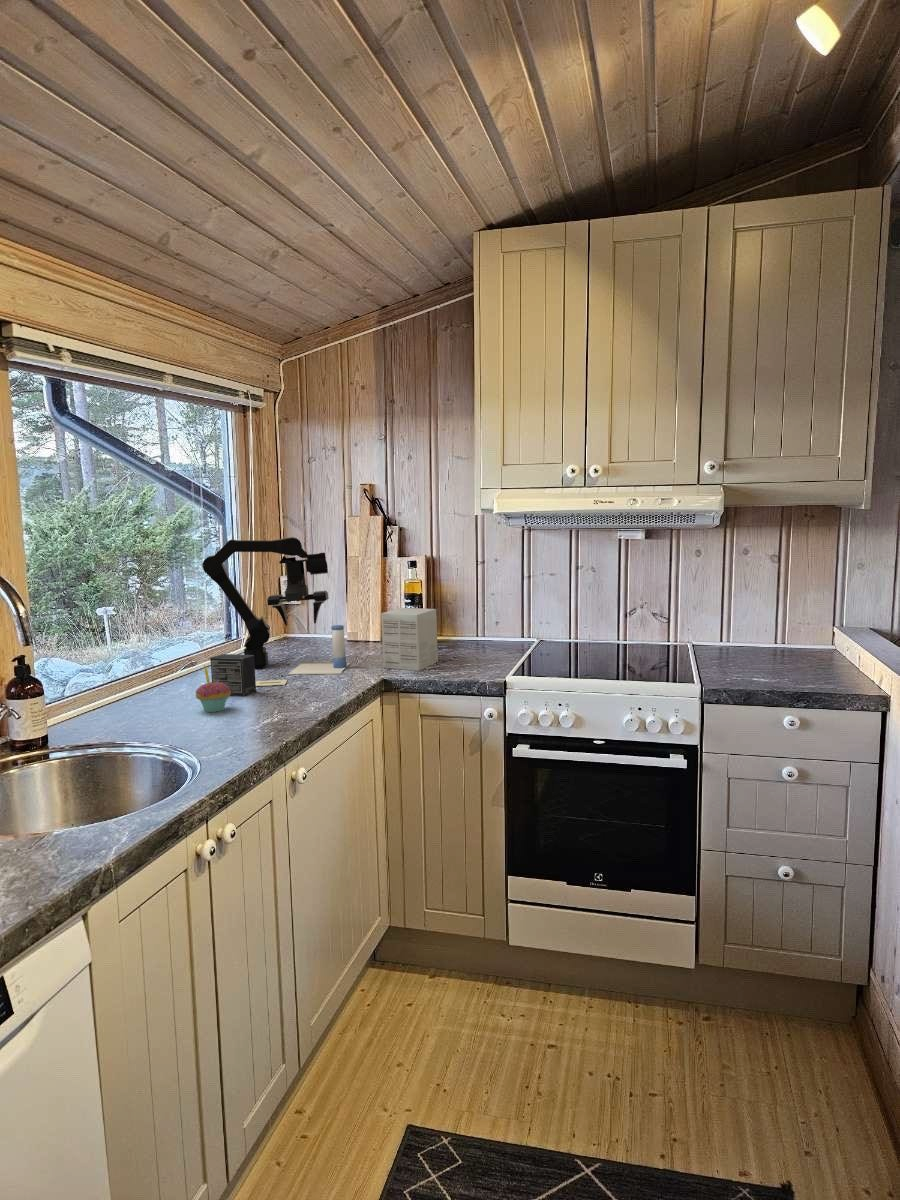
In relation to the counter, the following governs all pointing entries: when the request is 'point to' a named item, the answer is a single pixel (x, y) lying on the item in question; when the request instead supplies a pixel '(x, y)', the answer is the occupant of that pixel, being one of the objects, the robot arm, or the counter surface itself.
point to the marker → (338, 646)
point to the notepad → (317, 668)
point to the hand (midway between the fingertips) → (300, 624)
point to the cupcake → (213, 694)
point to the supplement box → (409, 638)
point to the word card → (271, 682)
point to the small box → (234, 672)
